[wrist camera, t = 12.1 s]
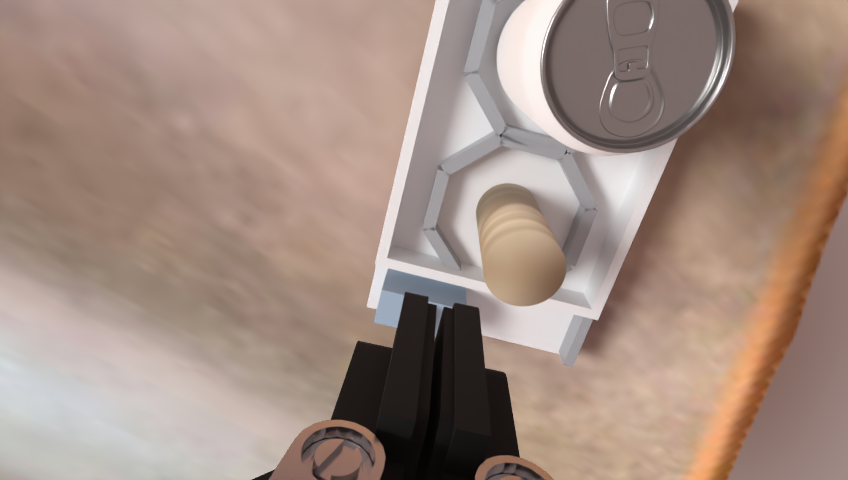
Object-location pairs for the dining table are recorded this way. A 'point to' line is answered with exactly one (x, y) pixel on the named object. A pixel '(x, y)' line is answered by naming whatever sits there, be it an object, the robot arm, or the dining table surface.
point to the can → (616, 68)
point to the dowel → (517, 247)
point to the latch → (406, 282)
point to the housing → (496, 164)
